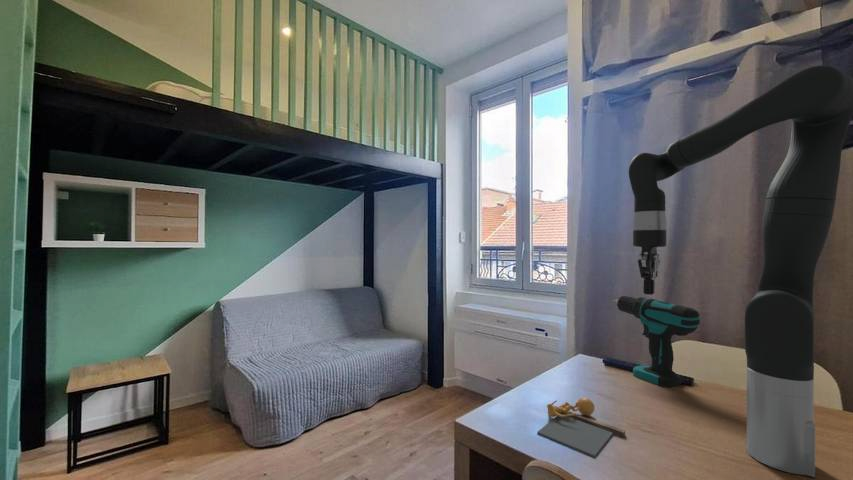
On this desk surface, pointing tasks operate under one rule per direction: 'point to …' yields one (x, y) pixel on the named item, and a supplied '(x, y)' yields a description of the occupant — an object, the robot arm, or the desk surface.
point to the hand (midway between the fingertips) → (649, 294)
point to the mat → (576, 434)
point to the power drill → (660, 335)
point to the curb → (597, 424)
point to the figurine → (582, 405)
